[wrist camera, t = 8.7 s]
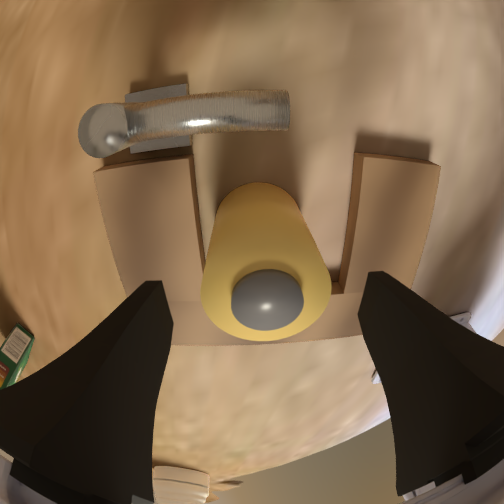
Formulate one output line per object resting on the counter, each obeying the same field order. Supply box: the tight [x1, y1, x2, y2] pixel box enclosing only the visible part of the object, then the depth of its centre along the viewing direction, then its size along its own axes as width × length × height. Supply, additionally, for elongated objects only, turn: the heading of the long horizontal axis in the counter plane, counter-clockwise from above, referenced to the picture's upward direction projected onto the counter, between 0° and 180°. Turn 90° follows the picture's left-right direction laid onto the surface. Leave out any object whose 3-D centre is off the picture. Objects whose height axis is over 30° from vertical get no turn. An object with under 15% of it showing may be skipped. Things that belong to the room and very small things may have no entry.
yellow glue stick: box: [200, 182, 332, 341], centre depth 12 cm, size 4×4×6 cm
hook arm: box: [78, 84, 290, 158], centre depth 9 cm, size 7×3×6 cm, turn 92°
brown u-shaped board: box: [93, 152, 441, 346], centre depth 15 cm, size 18×12×1 cm, turn 92°
